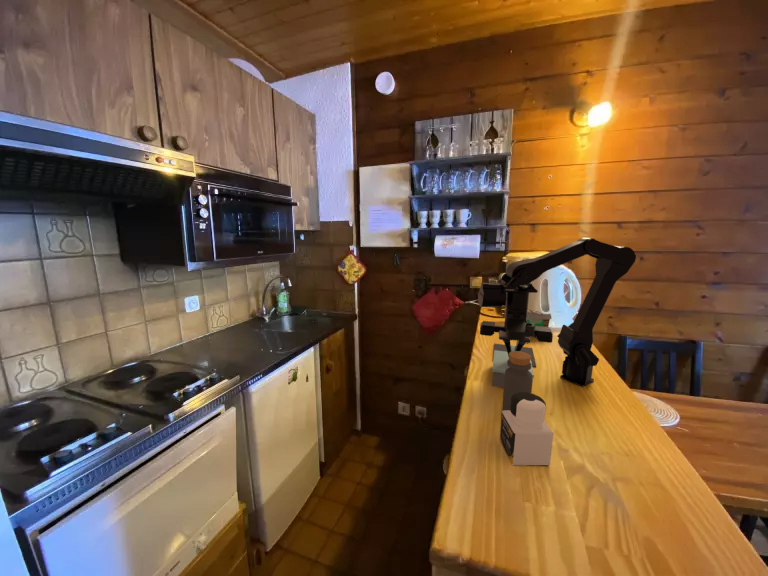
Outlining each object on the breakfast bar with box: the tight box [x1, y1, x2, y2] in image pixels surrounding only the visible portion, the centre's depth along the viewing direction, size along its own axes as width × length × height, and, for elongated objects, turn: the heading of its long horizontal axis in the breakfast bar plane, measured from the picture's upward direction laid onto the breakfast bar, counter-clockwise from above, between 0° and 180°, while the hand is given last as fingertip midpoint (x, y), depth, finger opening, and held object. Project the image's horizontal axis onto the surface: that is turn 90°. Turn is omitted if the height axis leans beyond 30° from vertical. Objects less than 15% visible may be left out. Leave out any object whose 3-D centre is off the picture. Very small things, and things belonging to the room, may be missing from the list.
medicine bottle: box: [499, 392, 554, 466], centre depth 61 cm, size 7×7×12 cm
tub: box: [491, 372, 534, 393], centre depth 92 cm, size 14×10×4 cm
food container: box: [527, 309, 552, 338], centre depth 127 cm, size 12×6×10 cm, turn 25°
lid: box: [491, 344, 535, 379], centre depth 91 cm, size 14×10×6 cm
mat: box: [492, 343, 537, 368], centre depth 108 cm, size 16×13×1 cm
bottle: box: [501, 351, 533, 412], centre depth 73 cm, size 6×6×15 cm
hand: (512, 359), depth 91 cm, fingers closed on lid
